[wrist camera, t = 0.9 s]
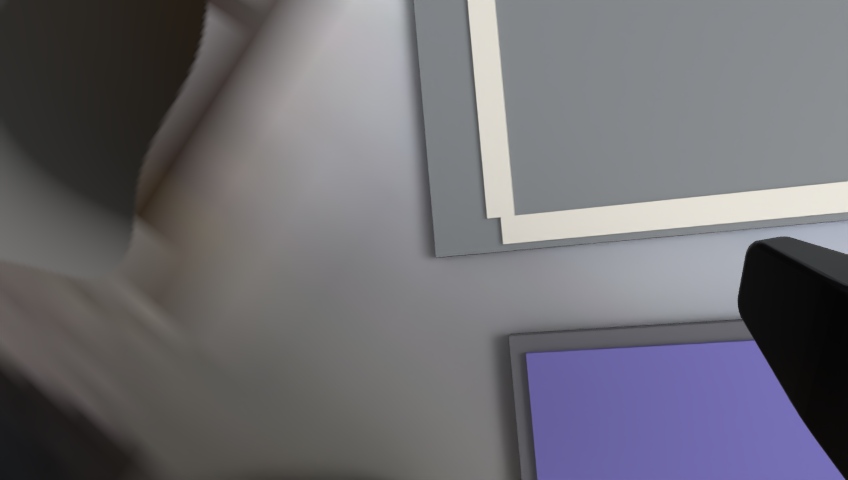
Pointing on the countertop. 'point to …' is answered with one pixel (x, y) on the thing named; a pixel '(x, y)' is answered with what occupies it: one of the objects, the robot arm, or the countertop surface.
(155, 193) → the countertop surface
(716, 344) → the ink pad
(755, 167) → the marked board
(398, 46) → the countertop surface
